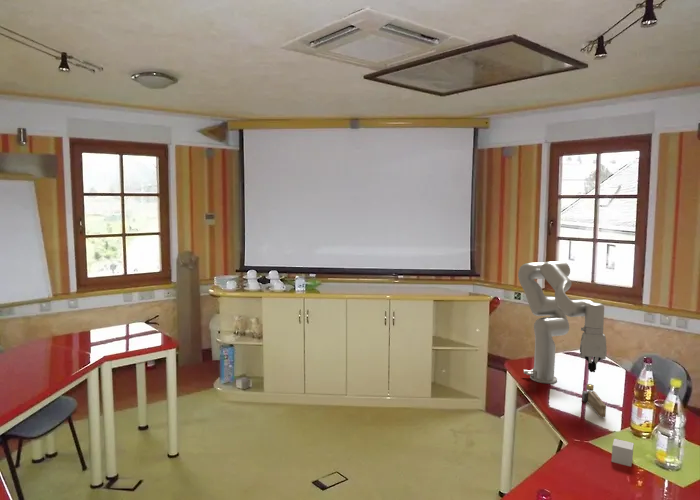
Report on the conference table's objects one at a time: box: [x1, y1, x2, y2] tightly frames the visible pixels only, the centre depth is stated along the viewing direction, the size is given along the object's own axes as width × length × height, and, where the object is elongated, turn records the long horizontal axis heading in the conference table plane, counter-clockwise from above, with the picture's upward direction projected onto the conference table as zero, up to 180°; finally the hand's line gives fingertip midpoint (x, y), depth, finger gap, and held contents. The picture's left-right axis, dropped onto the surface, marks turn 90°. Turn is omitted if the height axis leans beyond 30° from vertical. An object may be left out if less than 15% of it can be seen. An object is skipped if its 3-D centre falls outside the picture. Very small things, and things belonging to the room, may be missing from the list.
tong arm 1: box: [587, 390, 604, 418], centre depth 218 cm, size 1×16×5 cm, turn 171°
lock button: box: [586, 383, 595, 392], centre depth 227 cm, size 3×3×2 cm
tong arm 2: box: [591, 390, 607, 418], centre depth 217 cm, size 1×16×5 cm, turn 170°
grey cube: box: [611, 438, 635, 467], centre depth 175 cm, size 6×6×6 cm
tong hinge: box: [581, 390, 589, 403], centre depth 228 cm, size 5×3×4 cm, turn 80°
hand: (591, 371), depth 226 cm, fingers closed
